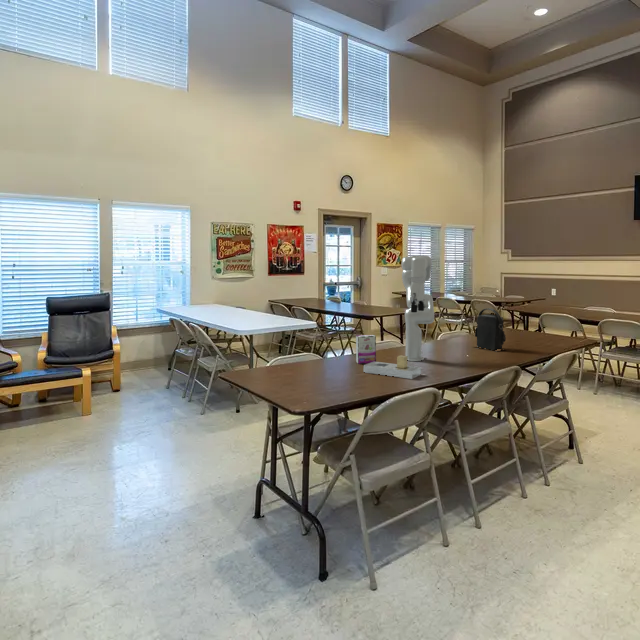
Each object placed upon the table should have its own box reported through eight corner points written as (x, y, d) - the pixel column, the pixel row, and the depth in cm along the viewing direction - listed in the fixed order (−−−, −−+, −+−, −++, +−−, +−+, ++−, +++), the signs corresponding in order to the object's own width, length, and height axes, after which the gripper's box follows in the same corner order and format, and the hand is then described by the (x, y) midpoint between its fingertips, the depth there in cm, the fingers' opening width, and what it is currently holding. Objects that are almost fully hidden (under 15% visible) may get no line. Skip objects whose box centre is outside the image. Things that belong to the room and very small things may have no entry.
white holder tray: (373, 368, 266) (373, 361, 265) (420, 374, 250) (421, 367, 250) (363, 372, 256) (363, 365, 255) (411, 379, 240) (412, 371, 240)
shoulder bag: (470, 347, 330) (471, 307, 327) (478, 345, 336) (480, 306, 332) (498, 352, 312) (500, 309, 309) (506, 350, 317) (508, 309, 314)
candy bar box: (373, 361, 284) (373, 334, 282) (376, 363, 280) (376, 335, 278) (355, 362, 282) (355, 335, 280) (357, 364, 277) (358, 336, 275)
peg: (400, 373, 253) (400, 355, 251) (407, 374, 250) (407, 356, 249) (396, 375, 249) (397, 356, 248) (403, 376, 247) (404, 357, 246)
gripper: (417, 279, 266) (417, 309, 268) (405, 280, 252) (404, 312, 254) (430, 279, 262) (429, 310, 264) (418, 280, 248) (417, 313, 250)
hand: (417, 311), depth 259 cm, fingers open, 9 cm apart
